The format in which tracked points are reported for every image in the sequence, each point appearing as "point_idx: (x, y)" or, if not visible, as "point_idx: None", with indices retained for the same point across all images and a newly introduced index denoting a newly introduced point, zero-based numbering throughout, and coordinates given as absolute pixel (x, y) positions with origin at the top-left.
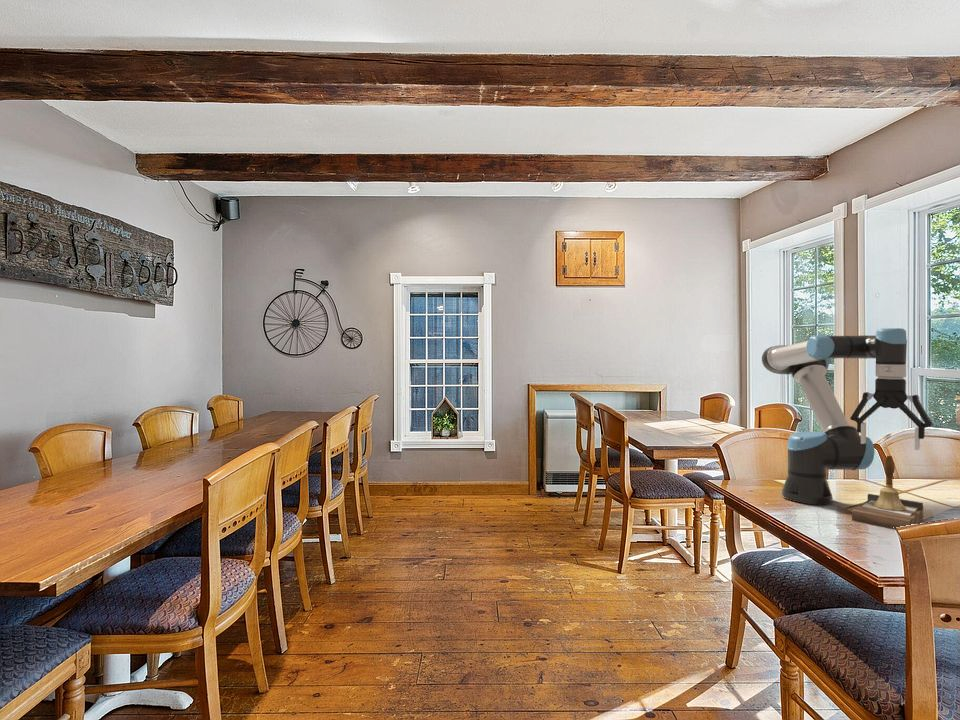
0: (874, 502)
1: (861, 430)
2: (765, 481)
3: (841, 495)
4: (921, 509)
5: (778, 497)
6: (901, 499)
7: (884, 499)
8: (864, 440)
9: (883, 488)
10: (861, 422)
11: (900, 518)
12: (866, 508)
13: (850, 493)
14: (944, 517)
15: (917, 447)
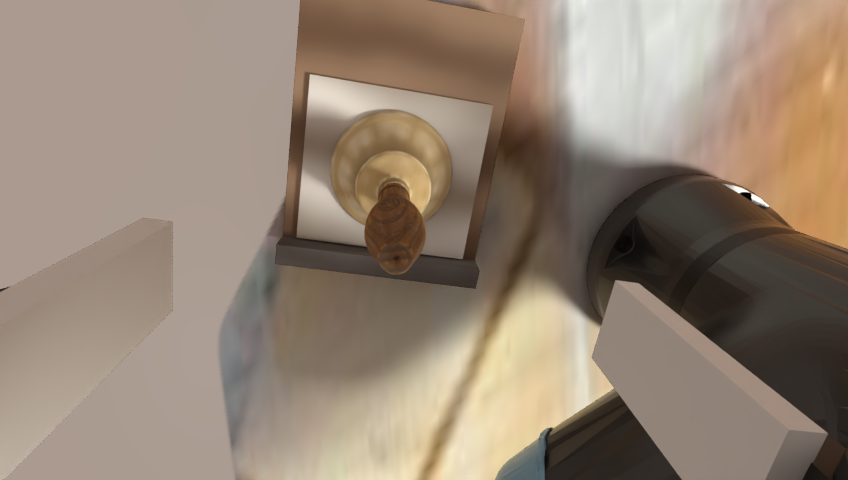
0: (447, 174)
1: (728, 359)
2: None
3: (556, 401)
4: (284, 235)
5: None
6: (353, 268)
7: (409, 141)
8: (619, 329)
9: (418, 184)
10: (824, 472)
11: (338, 7)
12: (472, 100)
13: None
14: (233, 314)
15: (131, 227)
